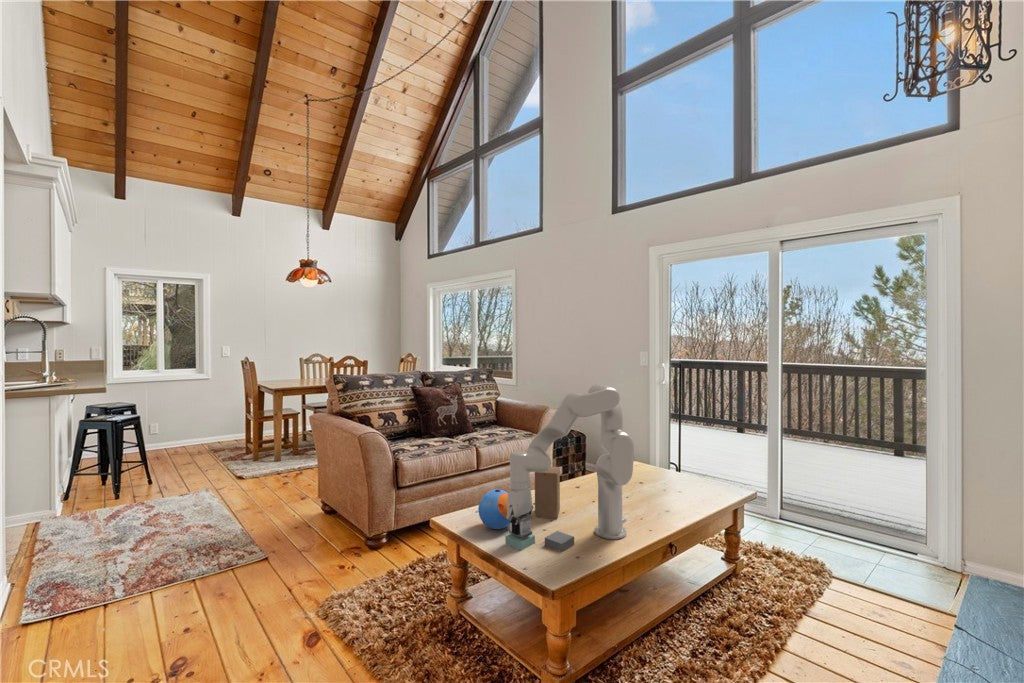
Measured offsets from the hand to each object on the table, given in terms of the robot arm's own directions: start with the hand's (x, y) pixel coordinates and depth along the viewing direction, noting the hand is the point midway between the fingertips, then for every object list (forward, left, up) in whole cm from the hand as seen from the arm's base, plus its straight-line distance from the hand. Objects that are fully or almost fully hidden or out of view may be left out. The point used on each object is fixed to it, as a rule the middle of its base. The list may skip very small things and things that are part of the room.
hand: (520, 531), depth 180 cm
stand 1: (0, 0, -5) cm, 5 cm away
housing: (0, 0, -1) cm, 1 cm away
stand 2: (-9, +12, -5) cm, 16 cm away
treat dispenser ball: (-5, -17, -5) cm, 19 cm away
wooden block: (-30, -10, -5) cm, 32 cm away
